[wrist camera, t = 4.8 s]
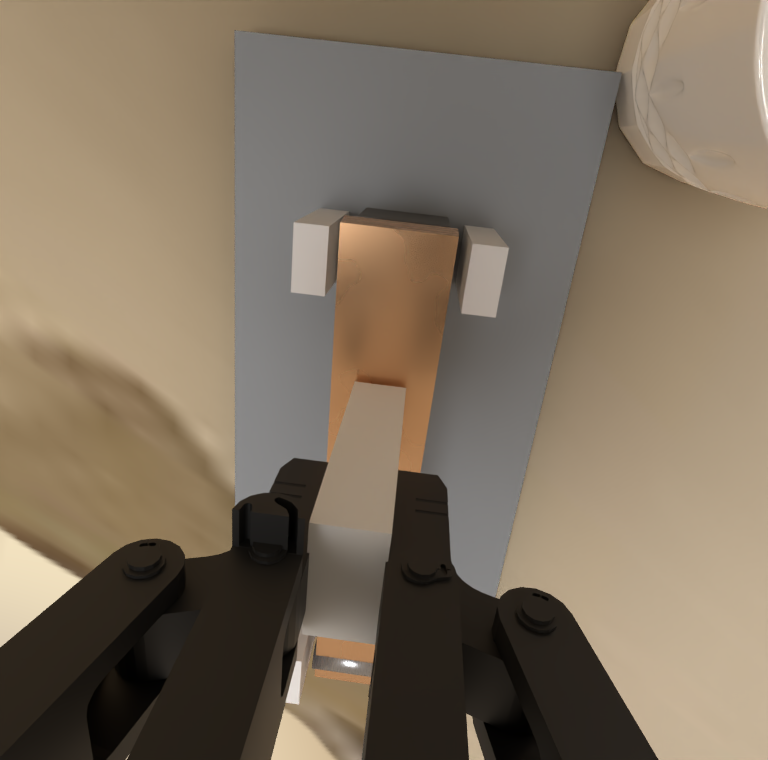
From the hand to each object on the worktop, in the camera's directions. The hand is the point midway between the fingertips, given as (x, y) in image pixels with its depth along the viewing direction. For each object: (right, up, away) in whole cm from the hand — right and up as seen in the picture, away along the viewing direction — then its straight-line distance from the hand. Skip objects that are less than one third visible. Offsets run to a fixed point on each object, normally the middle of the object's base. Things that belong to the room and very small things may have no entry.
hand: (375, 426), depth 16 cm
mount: (0, +1, +7) cm, 7 cm away
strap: (0, -3, +3) cm, 4 cm away
